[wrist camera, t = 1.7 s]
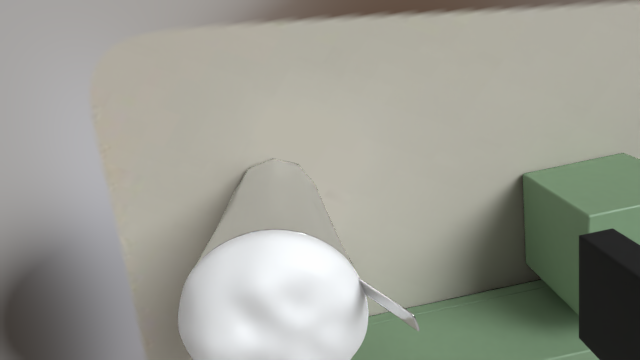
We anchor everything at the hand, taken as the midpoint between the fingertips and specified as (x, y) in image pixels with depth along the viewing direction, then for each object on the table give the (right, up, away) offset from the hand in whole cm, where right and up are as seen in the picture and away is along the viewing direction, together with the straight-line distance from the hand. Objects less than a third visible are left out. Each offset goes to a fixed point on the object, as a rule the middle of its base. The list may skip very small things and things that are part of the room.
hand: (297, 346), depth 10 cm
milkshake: (-1, +3, +9) cm, 9 cm away
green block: (+11, +2, +10) cm, 15 cm away
